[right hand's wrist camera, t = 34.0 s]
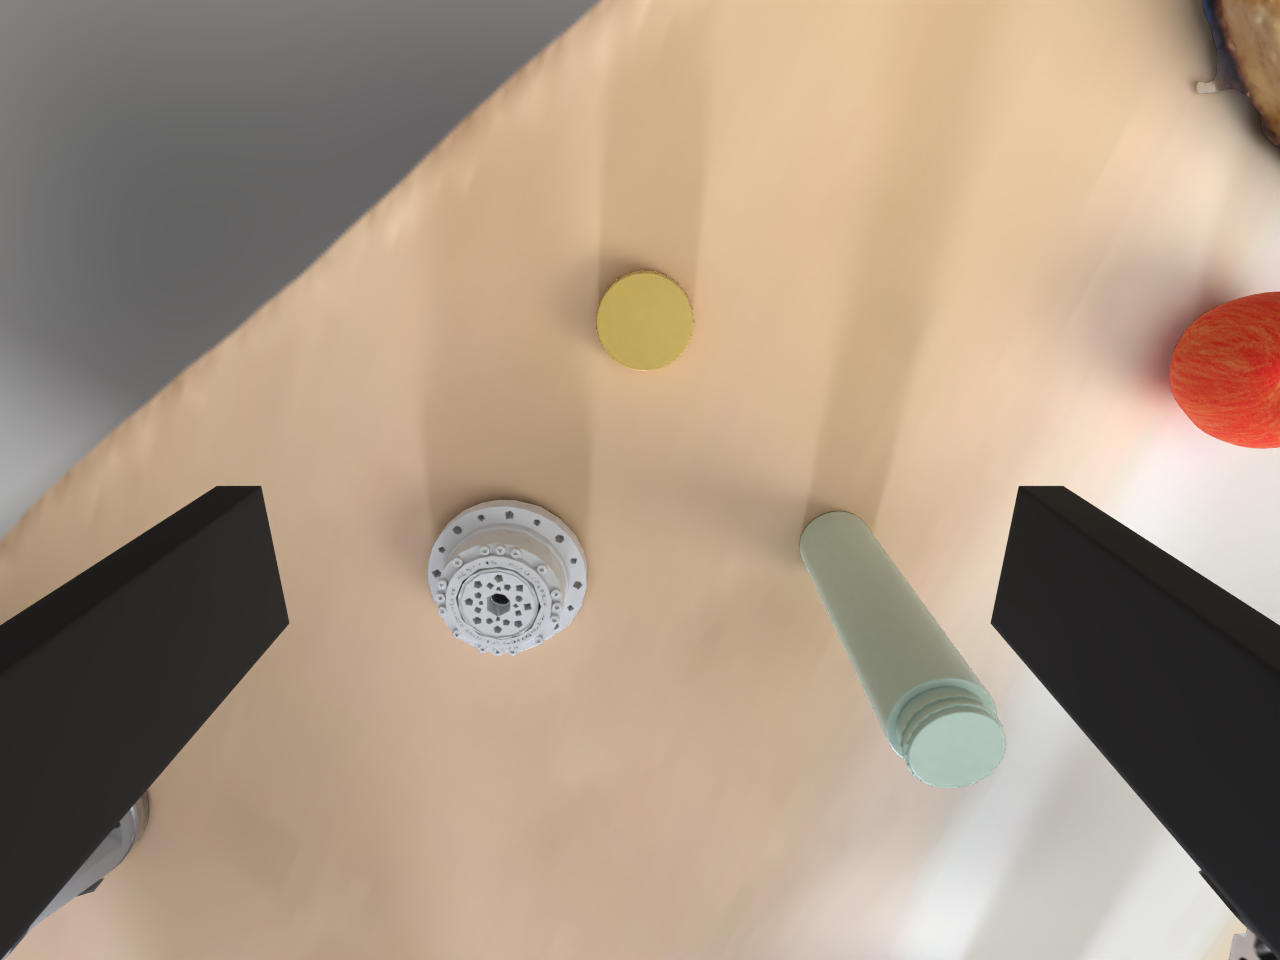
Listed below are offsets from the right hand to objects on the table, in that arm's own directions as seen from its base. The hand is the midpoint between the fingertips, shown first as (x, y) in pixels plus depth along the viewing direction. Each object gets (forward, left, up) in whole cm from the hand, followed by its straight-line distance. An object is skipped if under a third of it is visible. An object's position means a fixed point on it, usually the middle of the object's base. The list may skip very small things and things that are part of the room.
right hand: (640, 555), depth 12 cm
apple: (+23, +23, -29) cm, 44 cm away
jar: (+19, 0, -29) cm, 35 cm away
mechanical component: (+6, -17, -29) cm, 34 cm away
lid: (0, 0, -28) cm, 28 cm away
